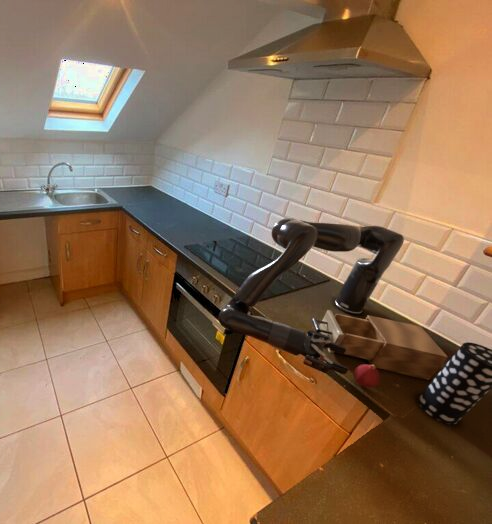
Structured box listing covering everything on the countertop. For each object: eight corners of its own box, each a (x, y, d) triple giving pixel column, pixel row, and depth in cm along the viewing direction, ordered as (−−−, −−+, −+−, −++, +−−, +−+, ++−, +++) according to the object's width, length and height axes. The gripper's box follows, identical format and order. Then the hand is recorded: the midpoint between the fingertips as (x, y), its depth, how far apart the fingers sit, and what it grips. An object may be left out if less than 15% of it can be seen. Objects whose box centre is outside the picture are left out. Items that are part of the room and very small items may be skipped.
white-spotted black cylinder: (428, 392, 84) (473, 339, 75) (464, 419, 78) (519, 364, 68) (410, 400, 81) (455, 345, 72) (446, 428, 75) (500, 373, 65)
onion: (350, 373, 88) (362, 353, 84) (373, 384, 85) (387, 364, 81) (347, 385, 84) (360, 365, 80) (371, 397, 81) (386, 377, 77)
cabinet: (371, 366, 91) (386, 343, 87) (354, 336, 103) (367, 315, 98) (428, 380, 88) (447, 356, 84) (405, 348, 100) (421, 326, 96)
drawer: (313, 348, 94) (322, 330, 90) (304, 324, 105) (312, 306, 101) (380, 364, 91) (393, 346, 87) (364, 337, 101) (375, 319, 98)
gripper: (286, 342, 82) (353, 368, 76) (290, 315, 94) (349, 336, 88) (278, 362, 86) (341, 388, 80) (283, 333, 97) (339, 354, 91)
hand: (345, 360), depth 84 cm, fingers open, 8 cm apart
